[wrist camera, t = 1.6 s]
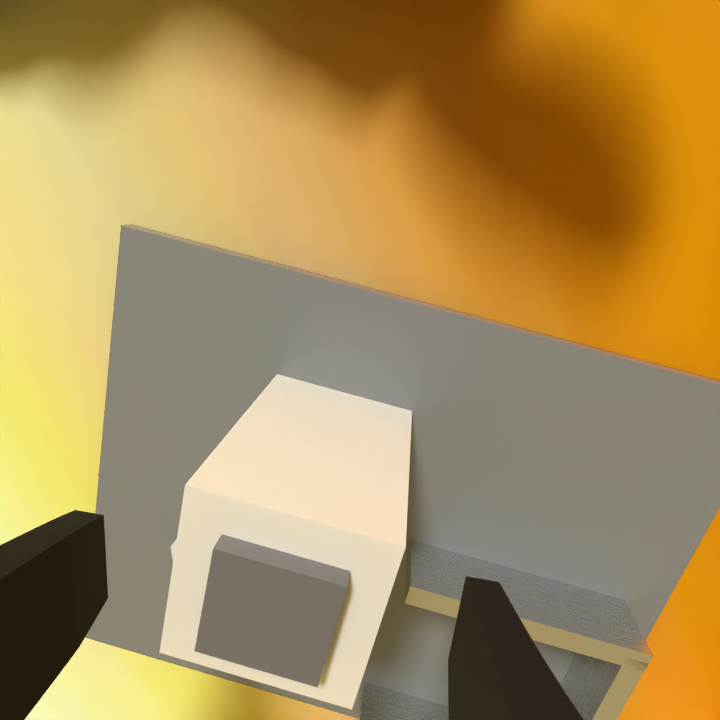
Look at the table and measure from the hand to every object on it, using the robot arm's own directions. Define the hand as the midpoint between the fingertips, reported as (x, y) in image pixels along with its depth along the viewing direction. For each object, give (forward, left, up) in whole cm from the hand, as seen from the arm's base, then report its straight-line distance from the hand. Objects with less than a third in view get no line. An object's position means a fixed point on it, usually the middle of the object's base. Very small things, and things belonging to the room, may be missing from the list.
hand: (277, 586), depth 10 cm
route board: (-2, +2, -6) cm, 7 cm away
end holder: (-7, +5, -6) cm, 10 cm away
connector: (0, 0, -6) cm, 6 cm away
